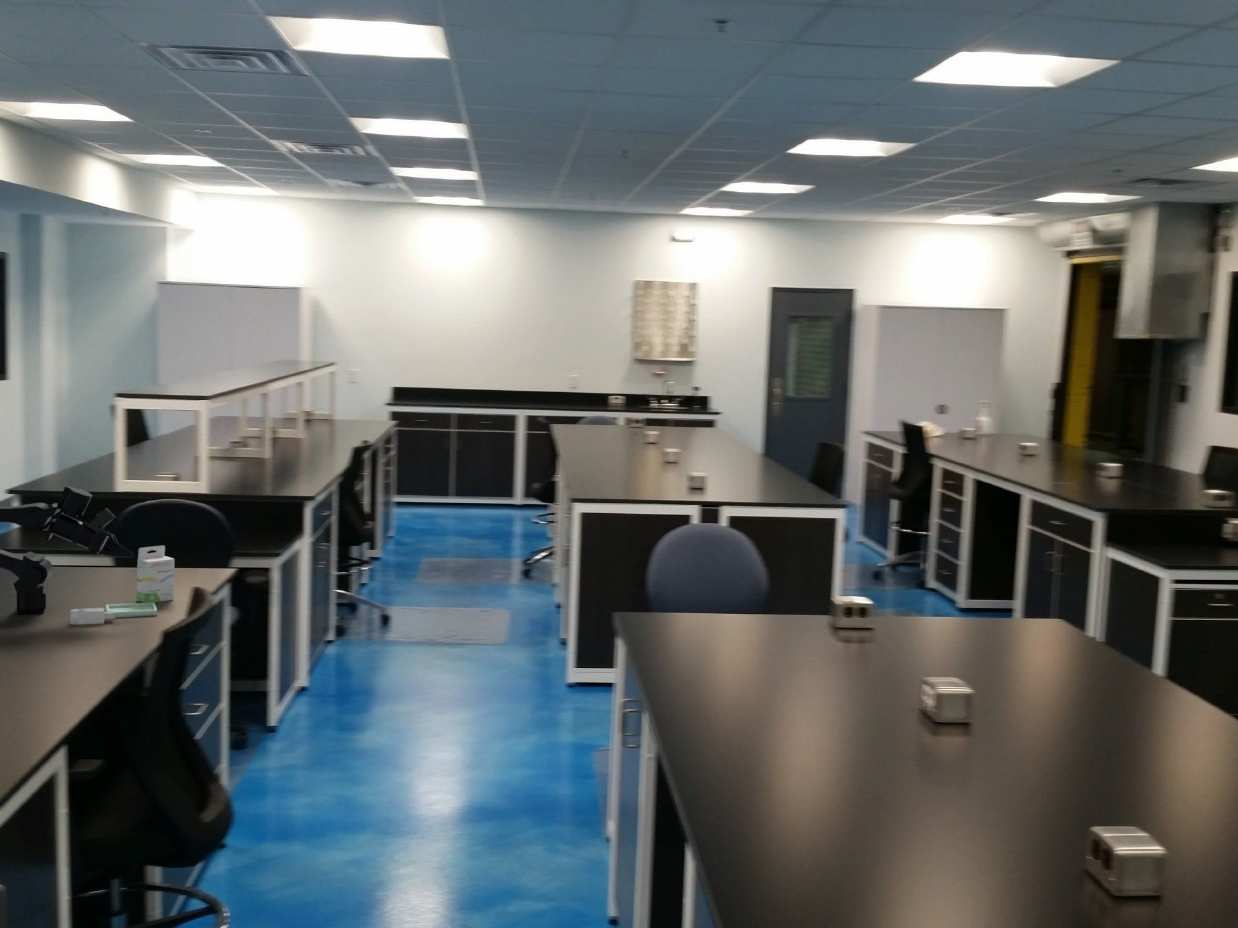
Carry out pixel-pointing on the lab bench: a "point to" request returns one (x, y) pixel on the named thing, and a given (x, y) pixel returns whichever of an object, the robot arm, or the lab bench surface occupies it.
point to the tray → (132, 609)
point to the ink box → (154, 575)
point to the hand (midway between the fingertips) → (132, 555)
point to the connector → (89, 616)
